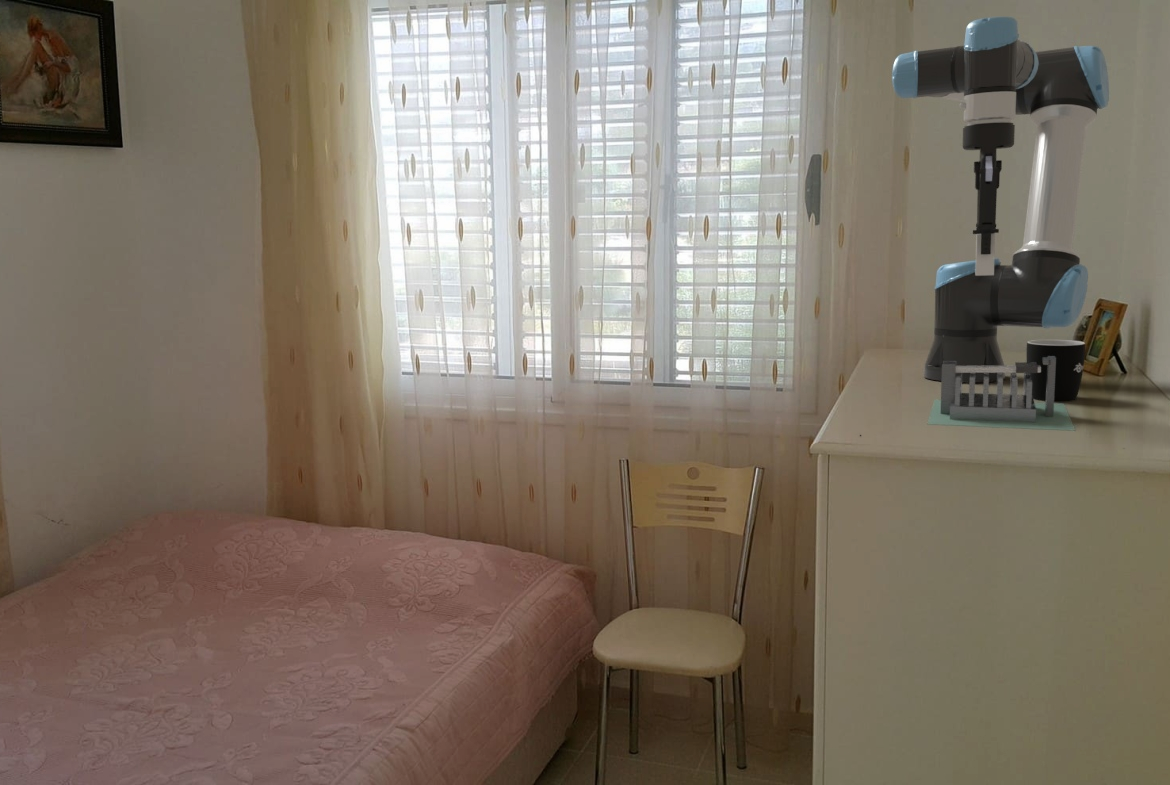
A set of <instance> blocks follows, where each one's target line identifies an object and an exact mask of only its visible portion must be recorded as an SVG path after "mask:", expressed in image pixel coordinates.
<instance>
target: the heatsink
mask: <svg viewBox="0 0 1170 785" xmlns="http://www.w3.org/2000/svg"><path fill="white" fill-rule="evenodd" d="M956 362H957V361H943V364H942V381H940V382H941V383H940V384H941V385H940V386H941V387H940V390H941V391H940V399H941V414H950V419H957V420H981V421H1006V422H1030V423H1035V422H1036V407H1035V404H1034V403H1035V399H1033V396H1032V379H1031V376H1030V373H1023V394H1018V383H1019V382H1018V377H1017V373H1010V381H1009V382H1010V384H1009V394H1007V393H1003V392H1004V379H1003V375H1002V373H997V381H996V391H995V392H996V393H989V383H990V382H989V373H984V382H983V385H982V386H983V387H982V388H983V389H982V393H976V382H975V373H970V382H968V383H969V386H968V388H969V389H968V392H963V391H962V390H963V389H962V388H963V382H962V373H957V375H956ZM1042 362H1043V365H1047V383H1046V401H1045V403H1046V404H1045V415H1046V417H1053V413H1054V403H1055V402H1054V391H1055V370H1056V357H1055V356H1048V357H1043V361H1042Z"/></svg>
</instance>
